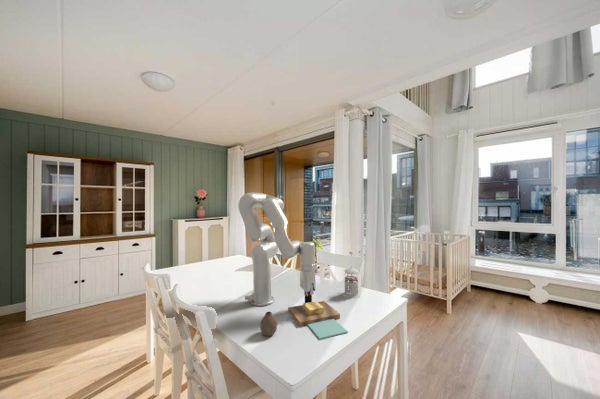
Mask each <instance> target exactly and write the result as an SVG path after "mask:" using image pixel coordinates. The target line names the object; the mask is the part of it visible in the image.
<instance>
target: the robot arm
mask: <svg viewBox="0 0 600 399" xmlns="http://www.w3.org/2000/svg"><path fill="white" fill-rule="evenodd" d="M255 208H256V209H257V208H262V210H263V212H264V213H265V215H266V217H267V219H268V221H269V222H270V225H271V226H272V227H271V226H270V225H268V224H267V223H263V222H262V223H261V221H260V219H259V216H258V214H257V212H256V211H255ZM284 209H285V203H284V201H283V200H282V199H281V198H279V197H276V196H273V195H269V194H266V193H262V192H247V193H244V194H243V195H241V197H240V198H239V201H238V211H239V214H240V217H241V219H242V221H243V225H244V227H245V231H246V234H247V237H248V239H249V240H250V242H253V243H257V242H260V243H257V244H256V245H255V246H254V247H252V249H251V254H250V255H251V260H252V270H253V273H252V274H253V278H252V279H253V292H252V293H251V294H250V295H244V300H246V301H248V302H249V301H250V303H251V305H253V306H256V307H266V306H269V305H271V304H273V303H274V301H275V297H274V296H272V268H271V267H272V266H271V263H270V259H271V258H274V257H275V256H276V255H277V254H278V251H279V252H280V253H281V255H282V256H283V257H284V258H286V259H292V258H294V257H296V256H299V262H300V263H299V265H300V268H299V269H300V271H299V287H300V288H301V289H302V290H303V291H304V292H303V293H304V303H309V302H313V300H312V299H313V298H312V297H313V295H314V293H315V291H316V284H317V283H316V273H315V271H316V244H315V243H314V242H313V241H301V240H295V239H294V240H290V239H289V236H288V234H287V227H288V226H287V225H288V222H289V220H288V219H287V217H286V215H285V213H284ZM272 229H273V230H272Z"/></svg>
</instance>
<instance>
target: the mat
mask: <svg viewBox="0 0 600 399" xmlns="http://www.w3.org/2000/svg"><path fill="white" fill-rule="evenodd" d="M307 327H308V328H309V330H311V331H312V332H313V334H314V335H315V336H316V337H317V338H318V340H319V341H321V340H323V339H329V338H331V337H336V336H340V335H344V334H348V333H349V332H348V330H347V329H346V328H345V327H344V326H342V325H341V324H340V322H338V321H337V319H329V320H324V321H319V322H315V323H310V324H308V325H307Z"/></svg>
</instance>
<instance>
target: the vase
mask: <svg viewBox="0 0 600 399" xmlns="http://www.w3.org/2000/svg"><path fill="white" fill-rule="evenodd" d="M259 327H260V332H261V333H262V335H264V336H265V337H271V336H273V335H274V334H276V332H277V329H278V321H277V319H276V317H275V316H274V315H273V313H272V311H266V312H265V314H264V316H263V317H262V318H261V320H260V326H259Z"/></svg>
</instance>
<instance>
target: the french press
mask: <svg viewBox="0 0 600 399" xmlns="http://www.w3.org/2000/svg"><path fill="white" fill-rule="evenodd" d="M352 254H354V253H353V251H349V255H352ZM343 271H344V275H346V274H347V275H346V276H344V292H343V293H342V295H343V296H344V297H346V298H349V299H355V298H359V297H361V294H360V293H359V279H358V277H357V276H354V274H358V273H359V270H358V269H356V268H353V267H349V268H346V269H344V270H343Z"/></svg>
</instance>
